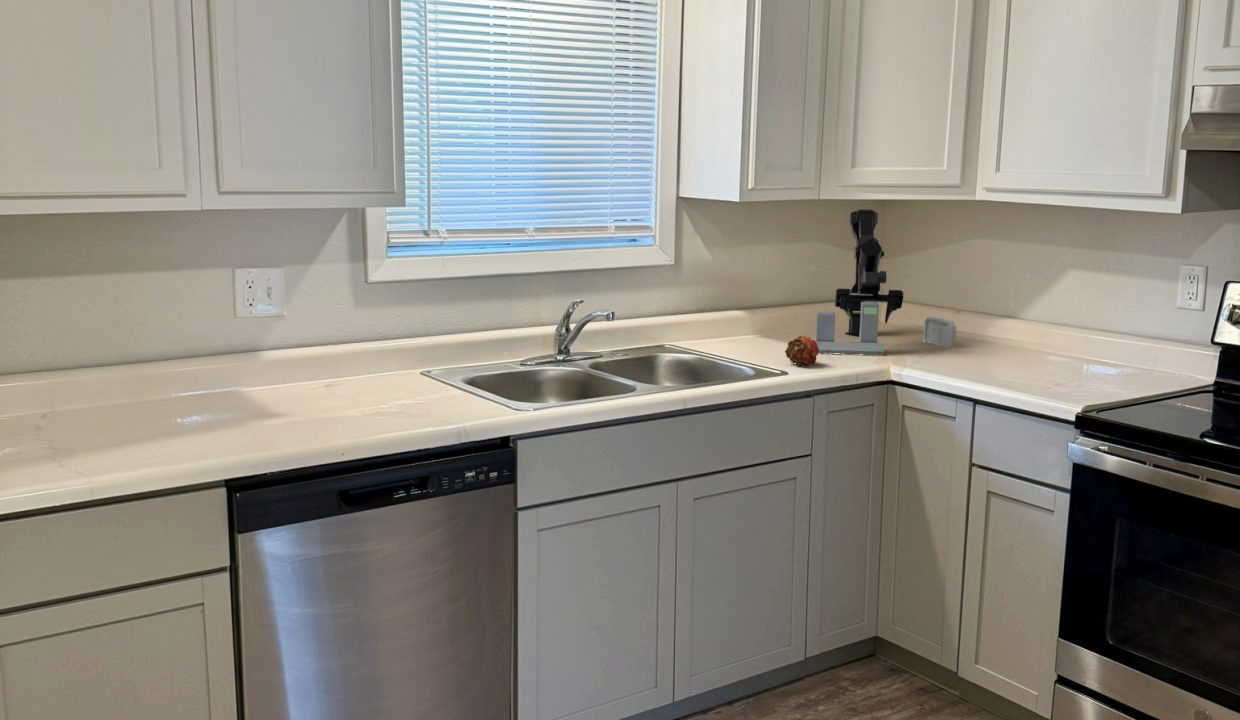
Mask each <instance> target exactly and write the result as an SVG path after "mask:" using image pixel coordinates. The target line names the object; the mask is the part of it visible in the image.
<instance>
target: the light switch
mask: <svg viewBox="0 0 1240 720" xmlns="http://www.w3.org/2000/svg"><path fill="white" fill-rule="evenodd" d="M956 335H957V325H956V323H955V322H954V320H950V319H944V318H940V317H934V316H927V317H926V318H925V319H924V321H923V340H922V342H923V343H926V342H929V343H928V344H932V343H933V345H937V346H940V345H941V346H942V347H946V348H948V349H955V348H956Z"/></svg>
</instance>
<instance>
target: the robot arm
mask: <svg viewBox="0 0 1240 720" xmlns="http://www.w3.org/2000/svg"><path fill="white" fill-rule="evenodd" d="M878 219H879V213H878V212H876V211H875V210H873V209H867V208H865V209H863V208H862V209H861V208H860V209H857V210H854V211H851V212H850V214H849V219H848V222H849V226H850V227H851V230H850V231H851V234H852V236H853V237H854V239H855V247H854V253H853V259H854V260H855V269H854V270H855V276H854V277H855V279H854V281H855V282H854V285H853V286H852V287H851V289H850V288H841V287H840V288H839V287H837V289H836V290H835V296H834V306H835V307H836V308H839V310H843V311H844V312H845V314H846V315H847V317H848V331H846V332H844V334H845V335H850V336H856V337H859V334H860V314H861V302H877V303H878V304H879V303H886V308H885V309H886V310H885V316H884V322H885V324H888V321H889V319H890V316H891V314H892V313H893V312H895V311H897V310H899V309H901V308H902V307H903V302H904V291H903V290H901V289H888V294H880V291H881V284H886V283H887V270H881V271H879V265H880V261H881V260H882V259H883V257H884V256H885V251H884V250H883V249H882V246H881V245H880V243H879V240H878V239H877V238H875V235H874V234H875V233H874V232H875V228H876V227H877V226H878V221H879V220H878Z"/></svg>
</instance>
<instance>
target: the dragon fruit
mask: <svg viewBox="0 0 1240 720" xmlns="http://www.w3.org/2000/svg"><path fill="white" fill-rule="evenodd" d="M818 352H819V349H818V345H817V343H816V340H814V339H812V338H811V337H810V336H807V335H802V336H801V335H799V336H797V337H795V338H794V339H793V340H790V341H788V342H787V347H786V349H785V350H784V353H785V356H786V358H787V359H789V361H790V362H791V363H792V364H793V363H796V364H795V365H798V366H800V365H805V366H807V364H809V365H811V364H812V365H813V364H815V363H816V361H817V356H819V354H818Z"/></svg>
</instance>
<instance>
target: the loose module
mask: <svg viewBox="0 0 1240 720" xmlns="http://www.w3.org/2000/svg"><path fill="white" fill-rule="evenodd" d="M879 311H880V304H879V302H878V303H877V302H861V311H860V312H861V314H860V334H859V336H858V342H864V343H878V330H879V329H878V328H879Z"/></svg>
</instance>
